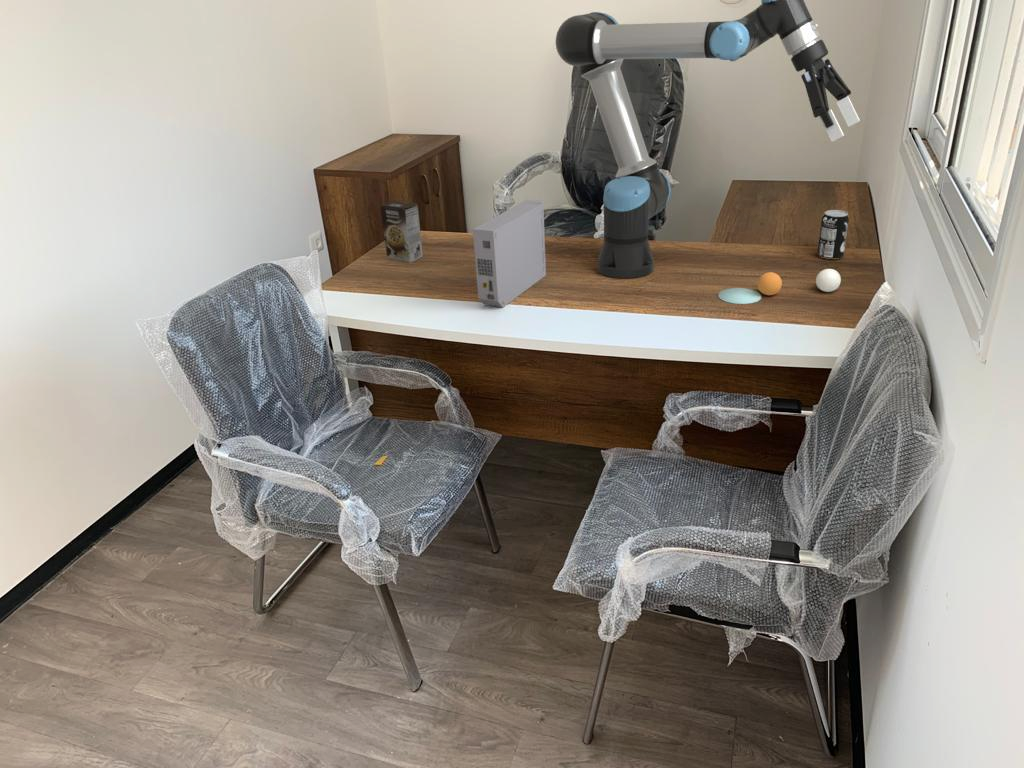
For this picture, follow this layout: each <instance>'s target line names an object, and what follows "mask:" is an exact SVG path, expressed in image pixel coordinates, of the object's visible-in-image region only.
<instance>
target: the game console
mask: <svg viewBox="0 0 1024 768" xmlns="http://www.w3.org/2000/svg"><path fill="white" fill-rule="evenodd" d="M544 215H545V214H544V202H543V201H542V200H532V199H525V200H523V201H522V202H520V203H518V204H516V205H514V206H512V207H510V208H509V209H507V210H506V211H503V212H501V213H500V214H498V215H496V216H495V217H493V218H491V219H489V220H487V221H485V222H484V223H482V224H480V225H478V226H476V227H474V228H472V239H473V247H474V248H473V249H474V260H475V273H476V275H475V276H476V287H477V298H478V300H479V302H481V304H482V305H484V306H490V307H497V308H505V307H506V306H507V305H508V304H510V303H511V302H512V301H514V300H515V299H516V298H517V297H519V296H520V295H522V294H523V293H525V292H526V291H527V290H528V289H531V287H532V286H534V285H535V284H536V283H538V282H539V281H540V280H541V279H543V278H545V276H547V265H546V244H545V243H546V241H545V238H546V237H545V216H544Z"/></svg>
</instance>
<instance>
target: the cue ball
mask: <svg viewBox="0 0 1024 768" xmlns="http://www.w3.org/2000/svg"><path fill="white" fill-rule="evenodd" d="M841 280H842V278H841V275H840V273H839V272H838V271H837V270H836V269H833V268H825V269H822V270H821V271H819V273H818V274H817V275H816V279H815V283H816V286H817V288H818V289H819V290H821V291H822V292H826V293H830V292H835V290H837V289H838V288H839V287H840V286H841V285H840V284H841V282H842V281H841Z"/></svg>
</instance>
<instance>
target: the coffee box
mask: <svg viewBox="0 0 1024 768" xmlns="http://www.w3.org/2000/svg"><path fill="white" fill-rule="evenodd" d="M379 207H380V213H381V221H382V228H383V237H384V243H385V248H386V249H385V251H386V258H387V260H391V261H397V262H403V263H410V264H411V263H413V262H415V261H417V260H419V258H420V259H421V257H422V258H423V257H424V254H423V246H422V236H421V227H420V215H419V206H418V203H416V202H409V201H408V202H407V201H400V200H393V201H390V202H385V203H383V204H381V205H380V206H379Z"/></svg>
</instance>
